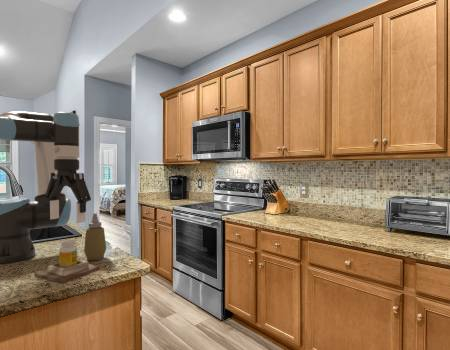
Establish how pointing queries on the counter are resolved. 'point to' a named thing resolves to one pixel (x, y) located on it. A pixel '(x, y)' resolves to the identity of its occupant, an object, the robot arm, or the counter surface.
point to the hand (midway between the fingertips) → (67, 220)
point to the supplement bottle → (68, 254)
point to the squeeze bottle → (95, 240)
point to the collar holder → (66, 271)
